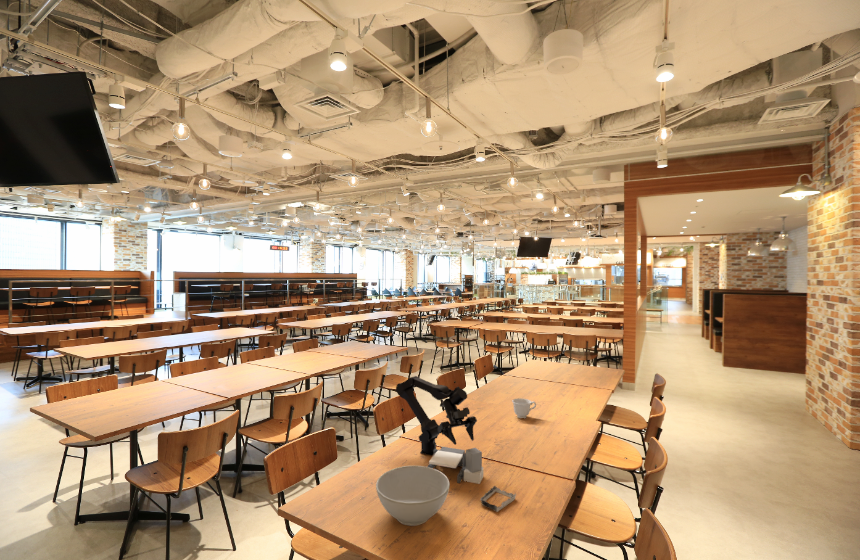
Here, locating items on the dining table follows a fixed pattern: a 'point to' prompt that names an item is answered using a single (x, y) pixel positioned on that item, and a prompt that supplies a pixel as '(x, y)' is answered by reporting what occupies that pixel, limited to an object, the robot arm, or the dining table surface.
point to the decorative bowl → (412, 493)
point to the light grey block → (473, 476)
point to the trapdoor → (448, 457)
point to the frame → (461, 473)
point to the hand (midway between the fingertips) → (464, 442)
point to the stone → (473, 460)
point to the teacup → (522, 407)
